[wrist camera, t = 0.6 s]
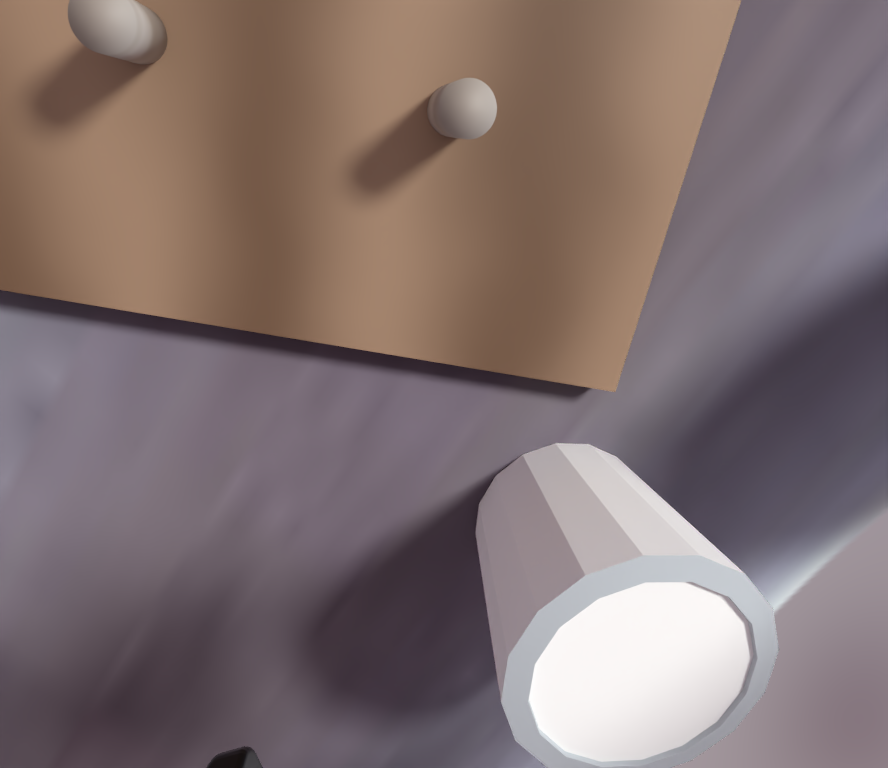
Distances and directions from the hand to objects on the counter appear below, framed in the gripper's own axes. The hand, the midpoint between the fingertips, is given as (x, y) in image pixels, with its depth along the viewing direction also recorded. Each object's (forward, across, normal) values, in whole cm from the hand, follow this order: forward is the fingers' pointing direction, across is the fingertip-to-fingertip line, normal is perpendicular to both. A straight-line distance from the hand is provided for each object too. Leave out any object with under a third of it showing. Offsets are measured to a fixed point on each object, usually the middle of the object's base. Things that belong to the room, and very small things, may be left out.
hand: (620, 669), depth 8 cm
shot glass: (+13, -2, +7) cm, 15 cm away
